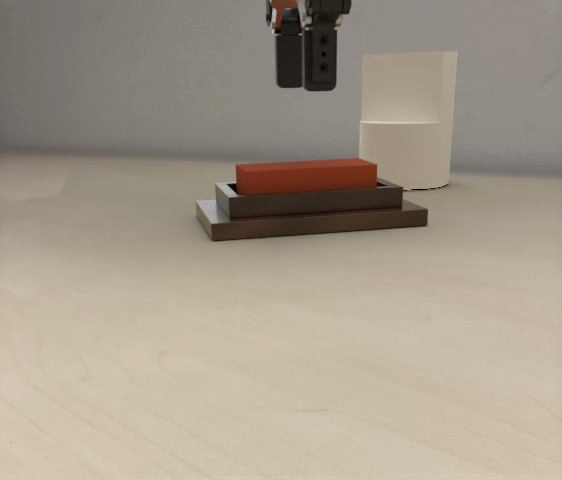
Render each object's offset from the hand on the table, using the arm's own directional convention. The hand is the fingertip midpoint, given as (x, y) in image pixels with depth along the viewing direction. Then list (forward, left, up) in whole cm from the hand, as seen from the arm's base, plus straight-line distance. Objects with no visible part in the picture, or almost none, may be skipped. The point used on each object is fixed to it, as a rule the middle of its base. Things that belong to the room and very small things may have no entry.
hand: (303, 89), depth 51 cm
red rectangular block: (0, 0, -8) cm, 8 cm away
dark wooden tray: (0, 0, -10) cm, 10 cm away
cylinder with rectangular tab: (+14, +15, -10) cm, 23 cm away
